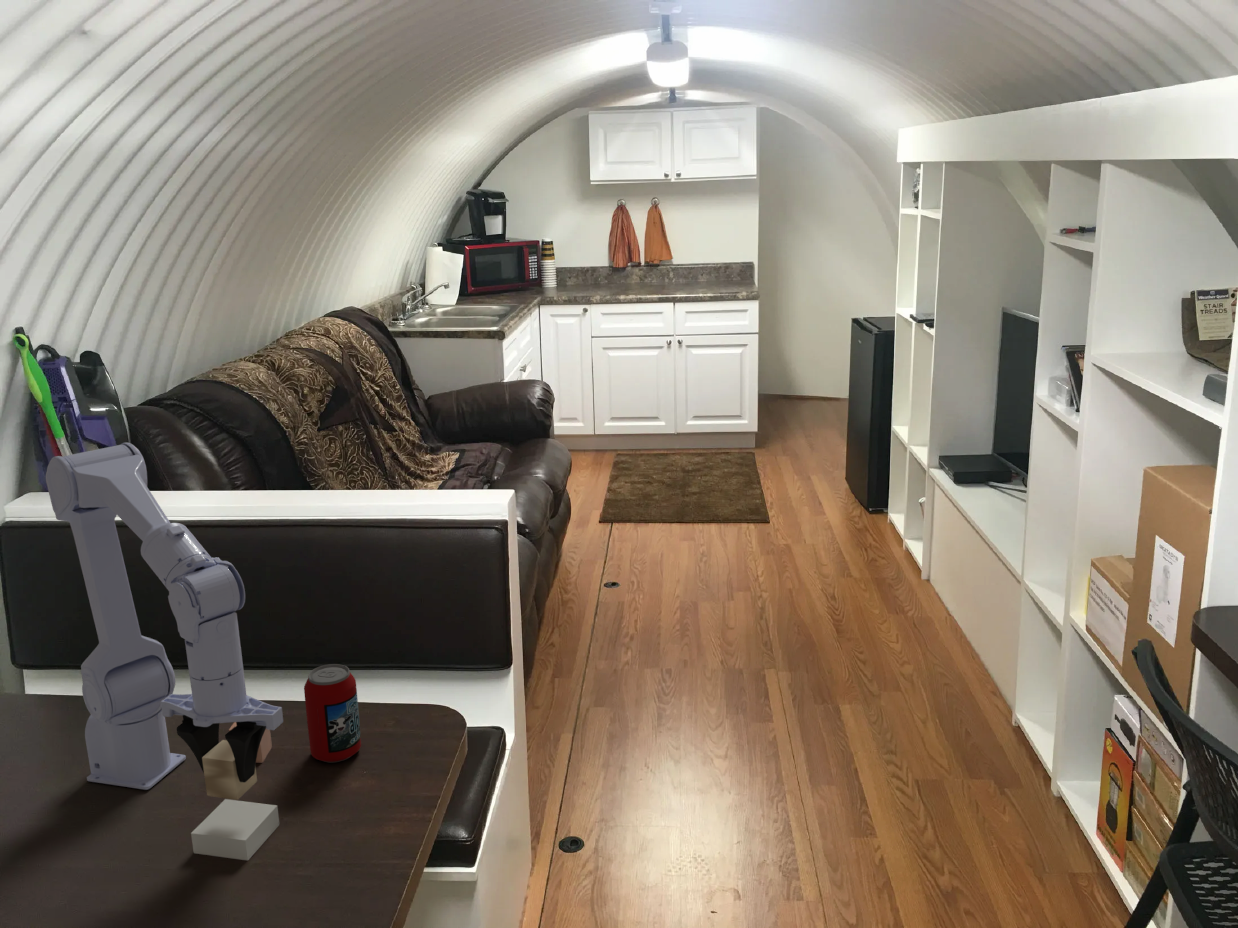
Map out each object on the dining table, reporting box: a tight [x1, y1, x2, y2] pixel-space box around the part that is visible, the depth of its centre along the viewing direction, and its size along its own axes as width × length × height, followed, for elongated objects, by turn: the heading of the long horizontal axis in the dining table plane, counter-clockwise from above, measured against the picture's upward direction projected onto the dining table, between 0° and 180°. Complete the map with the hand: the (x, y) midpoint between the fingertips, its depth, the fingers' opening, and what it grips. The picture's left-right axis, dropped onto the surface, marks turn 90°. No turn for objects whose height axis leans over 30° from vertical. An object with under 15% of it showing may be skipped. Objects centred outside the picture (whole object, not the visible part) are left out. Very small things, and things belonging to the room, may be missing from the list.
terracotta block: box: [228, 722, 273, 764], centre depth 141 cm, size 4×4×5 cm
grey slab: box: [190, 798, 281, 861], centre depth 124 cm, size 7×7×3 cm
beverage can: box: [303, 663, 362, 764], centre depth 140 cm, size 7×7×12 cm
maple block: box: [202, 739, 258, 801], centre depth 122 cm, size 4×4×5 cm
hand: (229, 775), depth 122 cm, fingers closed on maple block, 4 cm apart
